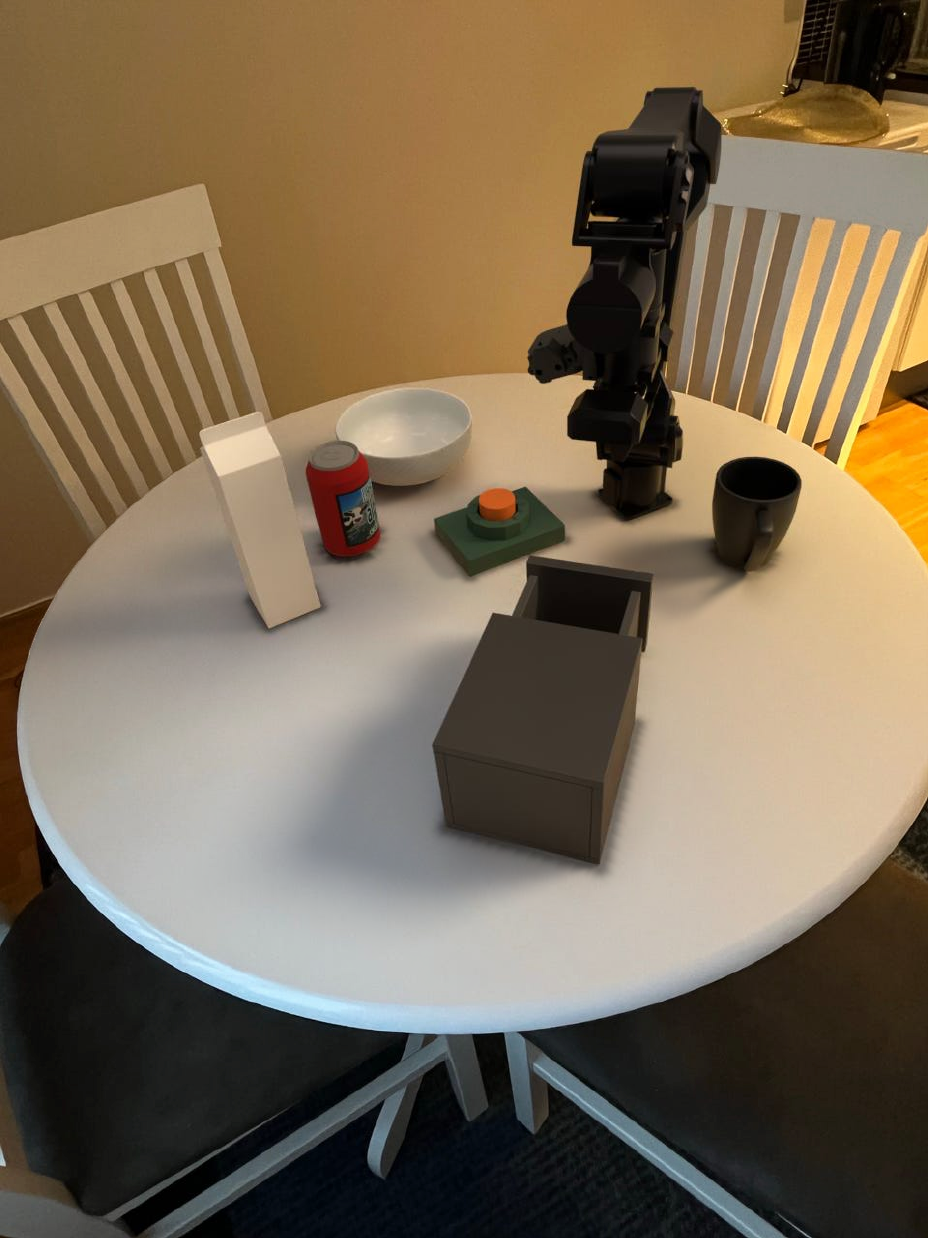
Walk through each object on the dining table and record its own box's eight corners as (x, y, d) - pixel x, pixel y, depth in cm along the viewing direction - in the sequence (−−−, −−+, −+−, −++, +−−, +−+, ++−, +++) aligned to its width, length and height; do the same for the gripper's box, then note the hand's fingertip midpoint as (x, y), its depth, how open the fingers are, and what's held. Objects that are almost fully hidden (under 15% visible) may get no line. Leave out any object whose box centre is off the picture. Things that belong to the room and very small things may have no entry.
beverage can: (372, 563, 93) (354, 472, 85) (315, 559, 95) (292, 469, 86) (388, 527, 98) (372, 438, 90) (334, 524, 99) (313, 435, 91)
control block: (526, 501, 100) (525, 473, 97) (565, 540, 94) (565, 511, 91) (435, 533, 96) (431, 505, 94) (469, 576, 90) (467, 547, 88)
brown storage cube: (499, 696, 77) (492, 612, 70) (634, 723, 74) (642, 637, 66) (445, 826, 67) (431, 744, 60) (599, 865, 64) (604, 783, 57)
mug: (706, 599, 85) (718, 523, 78) (704, 527, 93) (714, 454, 87) (791, 604, 83) (811, 527, 77) (781, 531, 92) (797, 457, 85)
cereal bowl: (354, 517, 100) (343, 467, 95) (337, 448, 112) (327, 400, 107) (490, 489, 102) (486, 439, 97) (459, 424, 114) (454, 376, 109)
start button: (505, 496, 94) (504, 483, 93) (522, 514, 92) (521, 501, 90) (473, 508, 93) (472, 495, 92) (490, 526, 91) (489, 513, 89)
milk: (321, 608, 89) (274, 424, 73) (267, 630, 87) (207, 446, 72) (300, 577, 93) (252, 397, 77) (249, 597, 91) (188, 417, 76)
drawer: (542, 597, 85) (541, 528, 80) (654, 615, 82) (661, 545, 76) (490, 725, 74) (484, 656, 68) (618, 753, 70) (624, 682, 64)
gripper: (562, 256, 79) (562, 404, 90) (505, 342, 67) (512, 502, 77) (680, 261, 76) (666, 414, 87) (644, 352, 63) (632, 518, 74)
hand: (619, 458), depth 81 cm, fingers closed
